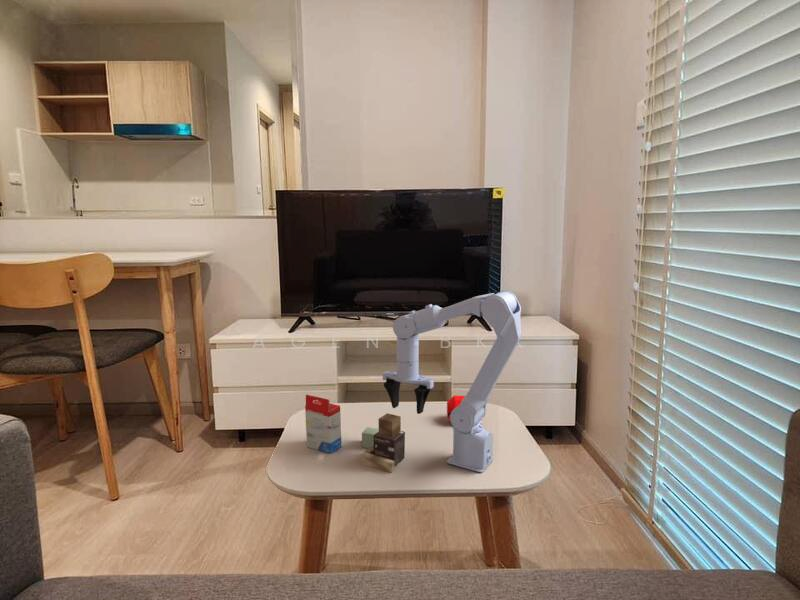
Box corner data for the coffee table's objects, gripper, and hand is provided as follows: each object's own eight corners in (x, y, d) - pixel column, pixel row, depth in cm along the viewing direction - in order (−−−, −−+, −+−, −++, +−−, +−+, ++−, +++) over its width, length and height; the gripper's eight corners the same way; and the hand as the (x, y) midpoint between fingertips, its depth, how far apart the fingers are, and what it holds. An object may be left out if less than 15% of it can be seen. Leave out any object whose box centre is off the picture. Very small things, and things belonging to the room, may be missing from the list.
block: (380, 442, 130) (380, 428, 130) (375, 449, 127) (375, 434, 126) (367, 440, 132) (367, 427, 131) (361, 447, 128) (361, 432, 127)
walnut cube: (400, 431, 120) (400, 416, 120) (392, 437, 117) (392, 421, 116) (387, 428, 122) (387, 413, 122) (378, 433, 119) (378, 418, 118)
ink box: (342, 447, 128) (341, 394, 125) (330, 454, 123) (329, 400, 121) (317, 440, 132) (316, 389, 130) (305, 446, 128) (304, 394, 126)
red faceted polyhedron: (446, 416, 149) (446, 393, 148) (472, 417, 148) (472, 393, 147) (447, 427, 141) (448, 402, 140) (475, 427, 140) (475, 402, 139)
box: (372, 462, 119) (372, 435, 118) (384, 453, 124) (384, 426, 123) (394, 468, 116) (394, 440, 115) (405, 458, 121) (405, 431, 120)
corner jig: (410, 457, 122) (410, 448, 121) (391, 472, 114) (391, 463, 114) (381, 449, 126) (381, 440, 126) (361, 463, 119) (361, 453, 118)
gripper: (439, 360, 124) (438, 410, 126) (392, 353, 132) (392, 400, 133) (426, 366, 118) (425, 419, 120) (378, 358, 126) (378, 407, 128)
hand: (407, 409), depth 126 cm, fingers open, 7 cm apart
